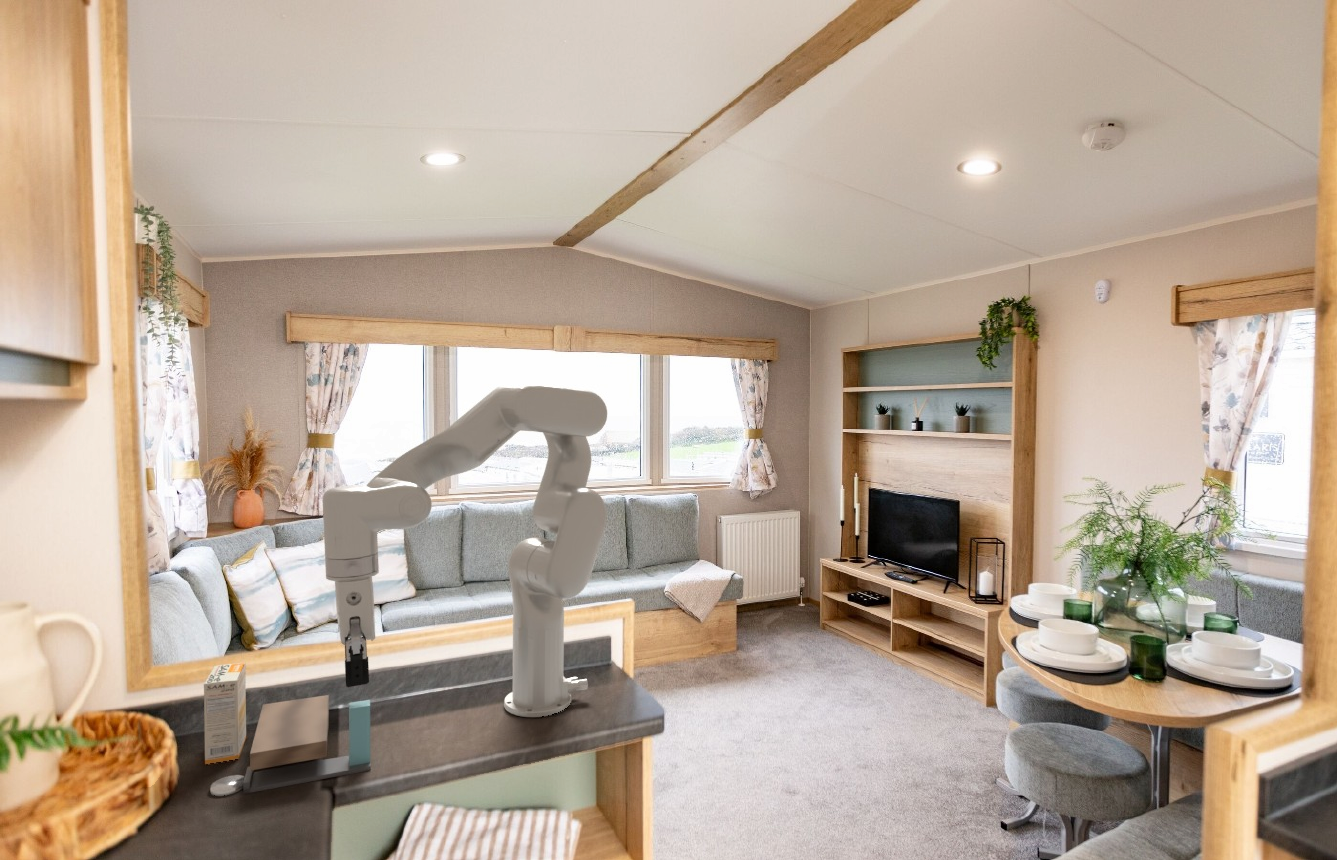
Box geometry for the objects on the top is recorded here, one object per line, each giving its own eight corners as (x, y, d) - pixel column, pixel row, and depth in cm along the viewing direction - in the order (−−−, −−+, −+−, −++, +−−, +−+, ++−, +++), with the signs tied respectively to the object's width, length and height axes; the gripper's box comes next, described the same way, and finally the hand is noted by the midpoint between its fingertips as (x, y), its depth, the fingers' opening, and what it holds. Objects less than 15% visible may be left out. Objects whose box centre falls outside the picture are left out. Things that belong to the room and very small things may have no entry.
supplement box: (213, 743, 117) (212, 665, 117) (246, 738, 119) (246, 661, 119) (203, 766, 110) (202, 683, 109) (238, 760, 111) (238, 679, 111)
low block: (328, 727, 123) (328, 695, 123) (326, 778, 107) (326, 740, 106) (263, 737, 119) (262, 704, 119) (250, 792, 102) (249, 753, 102)
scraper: (369, 755, 114) (369, 696, 113) (370, 770, 109) (370, 709, 109) (247, 777, 107) (247, 714, 106) (243, 794, 102) (243, 728, 102)
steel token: (246, 779, 107) (246, 772, 107) (244, 793, 103) (244, 786, 103) (212, 786, 104) (212, 779, 104) (208, 801, 101) (208, 794, 101)
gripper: (381, 575, 103) (385, 689, 104) (375, 551, 119) (380, 651, 120) (324, 582, 100) (329, 699, 101) (326, 556, 116) (331, 658, 117)
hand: (357, 673), depth 110 cm, fingers open, 9 cm apart
